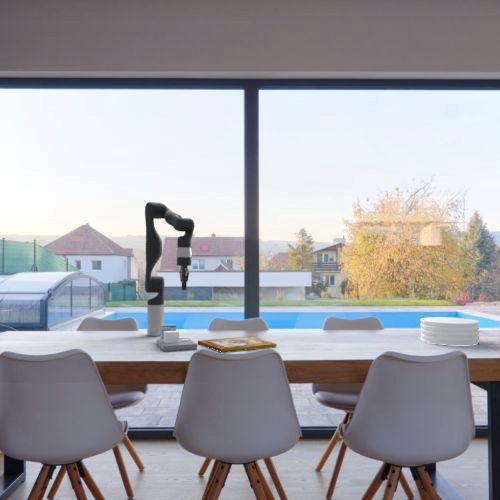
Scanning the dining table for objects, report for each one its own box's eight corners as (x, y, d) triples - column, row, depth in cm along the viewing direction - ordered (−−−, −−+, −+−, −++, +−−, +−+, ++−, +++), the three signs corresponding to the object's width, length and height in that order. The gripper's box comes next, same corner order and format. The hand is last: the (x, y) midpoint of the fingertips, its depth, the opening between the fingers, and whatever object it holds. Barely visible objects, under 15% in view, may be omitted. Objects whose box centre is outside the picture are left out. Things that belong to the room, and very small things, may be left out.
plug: (163, 345, 229) (163, 331, 229) (176, 344, 231) (176, 330, 232) (165, 347, 224) (165, 332, 224) (178, 346, 226) (178, 332, 226)
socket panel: (156, 344, 235) (156, 337, 235) (188, 342, 241) (188, 336, 241) (163, 351, 216) (163, 344, 216) (197, 349, 222) (197, 342, 222)
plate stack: (425, 336, 262) (425, 316, 262) (481, 340, 248) (481, 319, 248) (415, 343, 238) (415, 321, 238) (476, 349, 224) (476, 325, 224)
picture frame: (197, 340, 237) (249, 336, 252) (197, 344, 237) (249, 340, 252) (221, 349, 214) (276, 343, 228) (221, 354, 214) (276, 348, 228)
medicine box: (160, 342, 241) (160, 325, 241) (160, 341, 245) (160, 324, 245) (176, 341, 243) (176, 325, 243) (175, 340, 247) (175, 324, 248)
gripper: (174, 256, 247) (174, 289, 247) (179, 256, 235) (179, 290, 234) (188, 256, 250) (188, 289, 249) (194, 256, 237) (194, 290, 237)
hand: (184, 290), depth 242 cm, fingers closed
